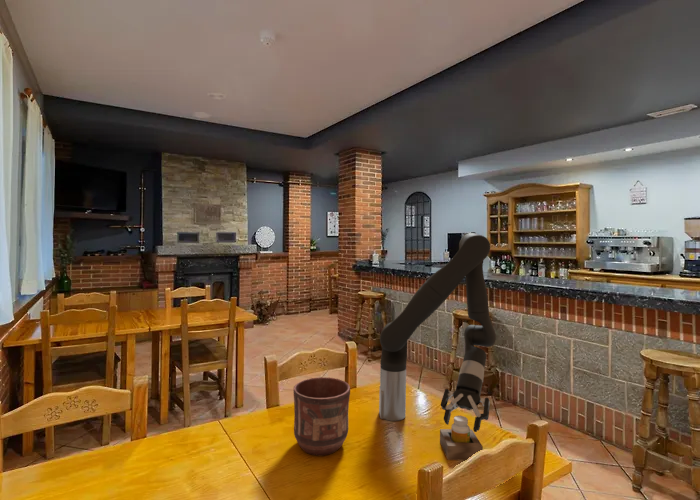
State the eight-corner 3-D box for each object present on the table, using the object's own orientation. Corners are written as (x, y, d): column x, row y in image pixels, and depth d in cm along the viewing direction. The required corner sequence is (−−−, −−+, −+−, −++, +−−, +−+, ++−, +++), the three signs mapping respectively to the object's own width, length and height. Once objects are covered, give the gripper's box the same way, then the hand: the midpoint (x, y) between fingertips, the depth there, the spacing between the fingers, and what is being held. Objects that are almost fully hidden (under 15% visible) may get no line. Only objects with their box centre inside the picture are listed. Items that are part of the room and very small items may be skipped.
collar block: (447, 459, 112) (447, 445, 112) (439, 441, 122) (440, 429, 122) (482, 460, 112) (482, 446, 112) (471, 442, 122) (472, 429, 122)
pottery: (362, 444, 120) (362, 386, 120) (319, 468, 107) (320, 403, 107) (322, 426, 132) (323, 373, 132) (280, 445, 119) (280, 386, 119)
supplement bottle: (470, 456, 114) (471, 423, 114) (451, 453, 116) (452, 421, 115) (468, 446, 120) (469, 415, 120) (450, 444, 121) (451, 413, 121)
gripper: (446, 368, 128) (434, 416, 119) (492, 376, 121) (483, 428, 112) (451, 379, 133) (439, 426, 124) (495, 388, 126) (486, 438, 116)
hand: (460, 427), depth 118 cm, fingers open, 8 cm apart
